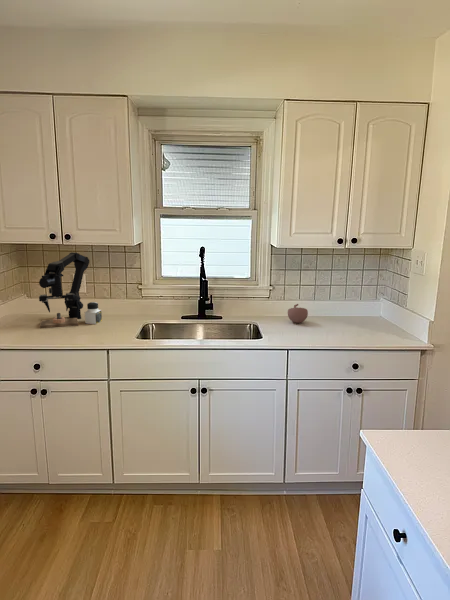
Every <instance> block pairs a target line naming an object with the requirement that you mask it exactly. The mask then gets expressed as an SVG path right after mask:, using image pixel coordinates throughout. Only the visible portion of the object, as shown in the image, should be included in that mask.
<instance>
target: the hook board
mask: <svg viewBox="0 0 450 600" xmlns="http://www.w3.org/2000/svg"><path fill="white" fill-rule="evenodd" d="M56 317H57V319H61V317H62V315H61V313H60V312H57V313H56ZM78 323H79V322H78V319H77V318H69V317H68V318H65V322H63V323H53V319H43V320H42V319H41V320H40V324H39V329H48V328H49V329H50V328H61V327H63V328H64V327H73V326H74V327H75V326H78V325H79V324H78Z"/></svg>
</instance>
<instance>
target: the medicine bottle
mask: <svg viewBox="0 0 450 600" xmlns="http://www.w3.org/2000/svg"><path fill="white" fill-rule="evenodd" d="M86 305H87V306H86V307H87V309H86V311H84V323H85V324H88V325H98V324H100V323H101V322H102V321H103V318H102V317H103V316H102V314H103V313H102V309H99V303H98V302H96V301H91V302H88V303H87V304H86Z"/></svg>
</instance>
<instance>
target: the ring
mask: <svg viewBox="0 0 450 600" xmlns="http://www.w3.org/2000/svg"><path fill="white" fill-rule="evenodd" d="M65 319H66V317H64V316H61V319H57V316H55V317H53V318H52V320H53V323H63V322H65Z"/></svg>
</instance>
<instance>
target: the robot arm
mask: <svg viewBox="0 0 450 600" xmlns="http://www.w3.org/2000/svg"><path fill="white" fill-rule="evenodd" d="M71 263H74V264H73V266H74V268H75V271H74V274H73V279H72V284H71V288H70V291H69V292H66V293H65V294H63V287H62V277H64V274H62V273H63V272H64V270H65V268H66V267H67V266H69V265H70V264H71ZM89 266H90V259H89V257H87V256H85V255H82V254H80V253H79V252H69V253H68V255H66V256H64V257H62V258H61V259H59V260H57V261H51V262H49V263H48V265H47V267H46V269H45V272H44V274H43V275H41V278H40V279H39V282H38V285H39V286H40V288H42V289H48V293H49V294H50V295H48V294H40V295H39V296H38V301H39V302H41V303H43V304H44V305H45V306H46V309H47V310H48V313H51V308H50V304H49V303H50V302H49V300H56V299H57V300H58V299H59V300H60V299H64V305H65V310H66V312H68V318H77V320H79V319H82V314H81V310H82V309H83V308H84V303H83V302H82V301H81V296H80V289H81V285H82V282H83V278H84V277H83V276H84V273H85V272H86V270H87V269H88V267H89Z"/></svg>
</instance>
